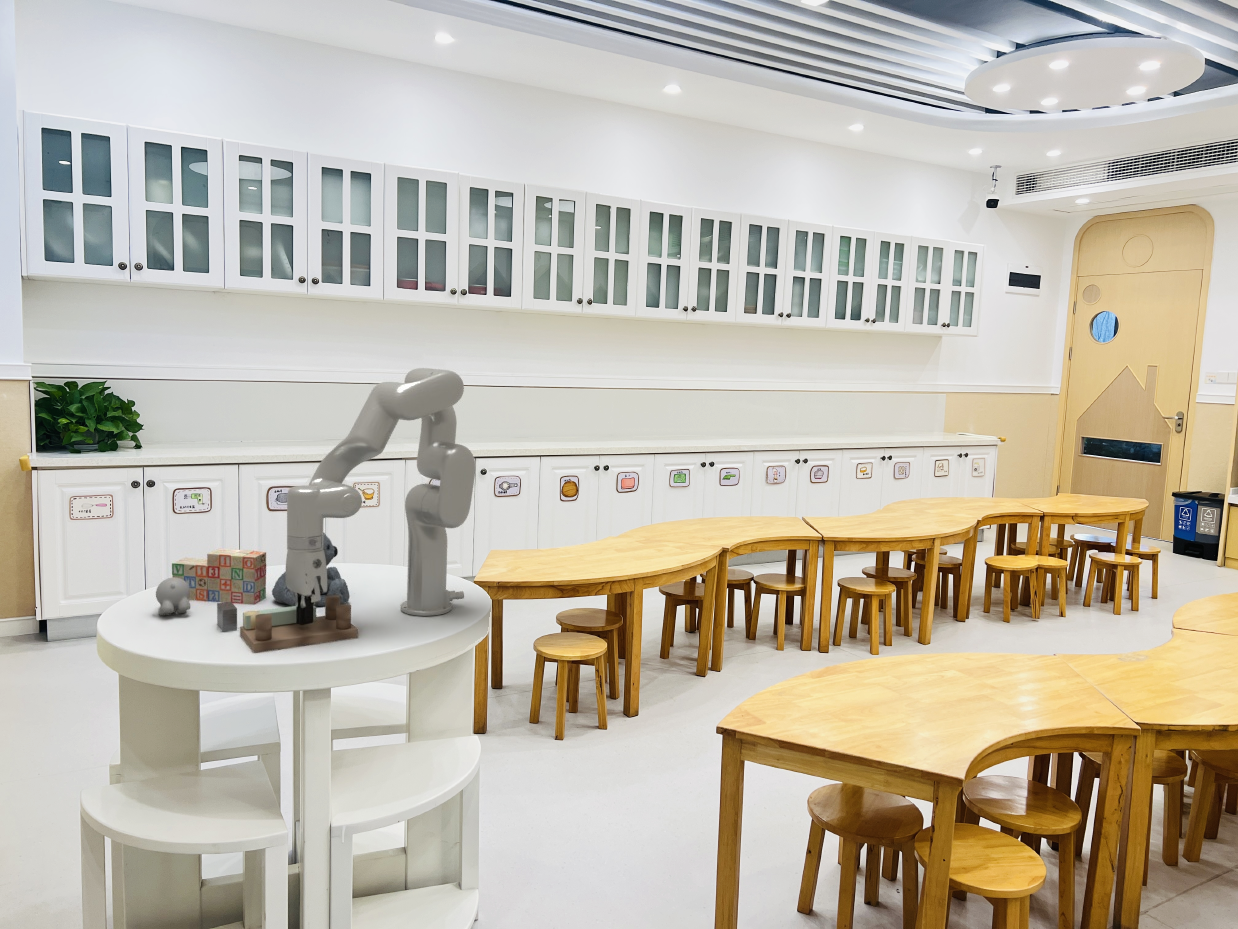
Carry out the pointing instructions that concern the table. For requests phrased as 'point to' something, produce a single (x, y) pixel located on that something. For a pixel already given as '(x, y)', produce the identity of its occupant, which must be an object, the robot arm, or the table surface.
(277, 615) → the folding leg
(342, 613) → the stool seat
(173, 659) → the table surface
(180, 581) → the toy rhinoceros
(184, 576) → the stack of blocks
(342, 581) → the koala plush
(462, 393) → the robot arm
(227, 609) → the block
